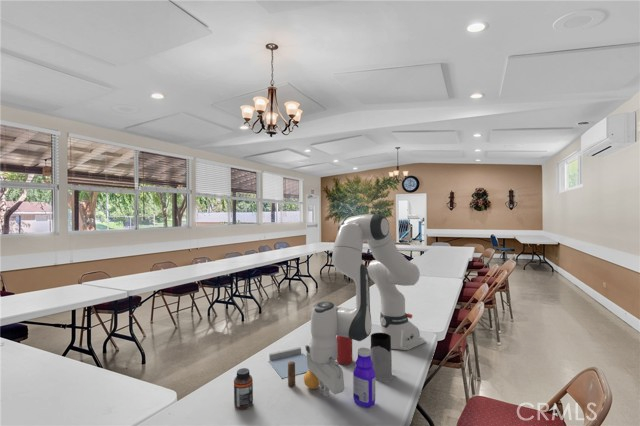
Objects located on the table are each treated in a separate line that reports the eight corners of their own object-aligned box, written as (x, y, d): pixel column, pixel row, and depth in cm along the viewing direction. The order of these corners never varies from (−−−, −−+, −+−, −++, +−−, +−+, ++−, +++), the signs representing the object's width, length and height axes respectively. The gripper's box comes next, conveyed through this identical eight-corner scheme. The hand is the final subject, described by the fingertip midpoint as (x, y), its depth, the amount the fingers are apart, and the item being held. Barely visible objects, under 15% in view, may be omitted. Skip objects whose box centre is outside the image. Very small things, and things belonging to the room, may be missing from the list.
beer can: (351, 365, 134) (351, 336, 134) (335, 364, 135) (335, 335, 135) (353, 358, 140) (352, 330, 140) (337, 357, 142) (337, 329, 141)
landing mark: (303, 353, 145) (303, 353, 145) (320, 368, 131) (320, 368, 131) (268, 361, 138) (268, 361, 138) (282, 378, 124) (282, 378, 124)
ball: (325, 374, 116) (323, 388, 118) (315, 364, 121) (313, 377, 122) (310, 380, 113) (309, 395, 114) (301, 369, 117) (300, 383, 119)
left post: (293, 382, 121) (293, 360, 121) (296, 385, 119) (296, 363, 119) (287, 384, 120) (286, 362, 120) (289, 387, 118) (289, 365, 117)
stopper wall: (299, 352, 147) (299, 347, 147) (301, 353, 145) (301, 348, 145) (269, 359, 140) (269, 353, 140) (270, 360, 139) (270, 354, 139)
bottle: (378, 403, 107) (378, 350, 107) (369, 411, 103) (368, 355, 103) (360, 395, 112) (359, 344, 112) (350, 402, 108) (349, 349, 108)
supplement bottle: (235, 400, 110) (235, 366, 110) (254, 399, 110) (253, 365, 110) (232, 411, 104) (232, 375, 104) (251, 410, 105) (251, 374, 104)
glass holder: (367, 379, 123) (366, 338, 123) (375, 362, 136) (374, 326, 136) (390, 383, 120) (390, 342, 120) (396, 366, 133) (396, 328, 133)
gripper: (348, 362, 103) (349, 407, 103) (318, 340, 121) (319, 377, 121) (331, 367, 100) (331, 413, 100) (303, 343, 118) (303, 382, 118)
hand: (324, 393), depth 111 cm, fingers closed
